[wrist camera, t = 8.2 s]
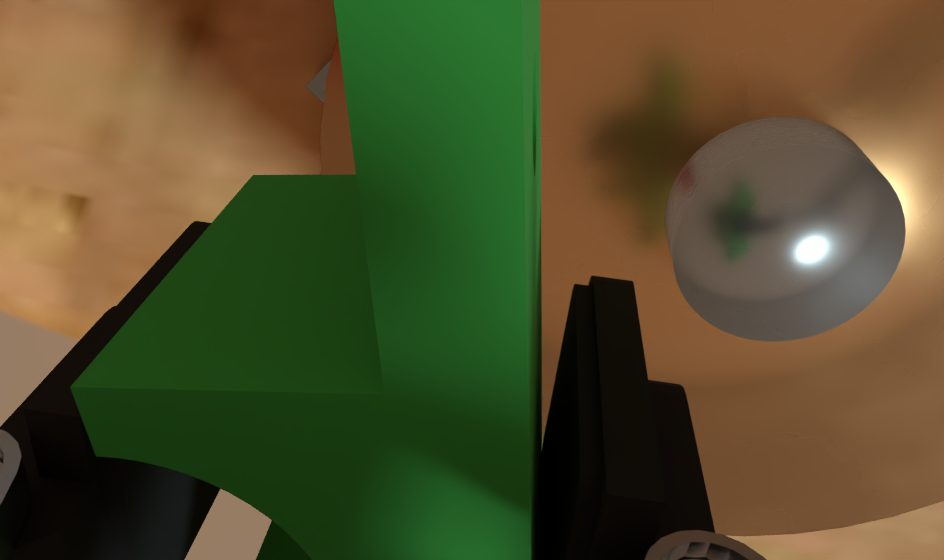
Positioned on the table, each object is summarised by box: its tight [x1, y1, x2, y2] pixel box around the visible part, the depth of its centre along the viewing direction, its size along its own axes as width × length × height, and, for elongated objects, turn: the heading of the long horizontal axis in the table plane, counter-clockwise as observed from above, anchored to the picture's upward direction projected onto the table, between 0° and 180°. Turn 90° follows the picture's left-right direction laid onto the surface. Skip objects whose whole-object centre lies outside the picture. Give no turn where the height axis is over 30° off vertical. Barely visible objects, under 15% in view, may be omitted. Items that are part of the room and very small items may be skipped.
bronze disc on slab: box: [306, 0, 944, 536], centre depth 18 cm, size 18×18×10 cm
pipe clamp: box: [70, 0, 542, 560], centre depth 9 cm, size 11×4×5 cm, turn 3°
